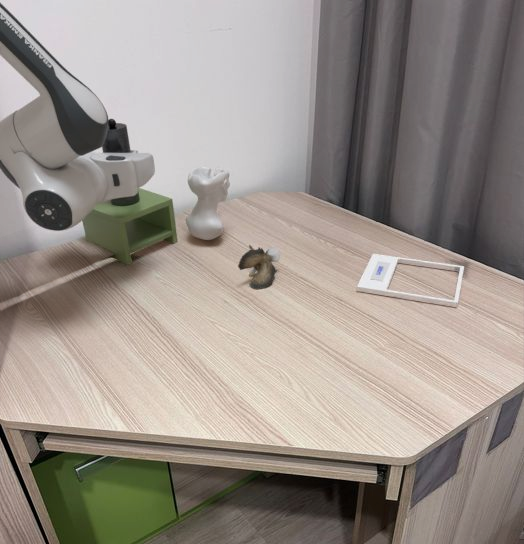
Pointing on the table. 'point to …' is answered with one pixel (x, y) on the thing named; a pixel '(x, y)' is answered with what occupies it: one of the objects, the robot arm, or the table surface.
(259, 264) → the eagle figurine
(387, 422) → the table surface
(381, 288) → the photo frame
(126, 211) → the nightstand
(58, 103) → the robot arm
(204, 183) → the white hourglass figure
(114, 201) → the coffee pot
